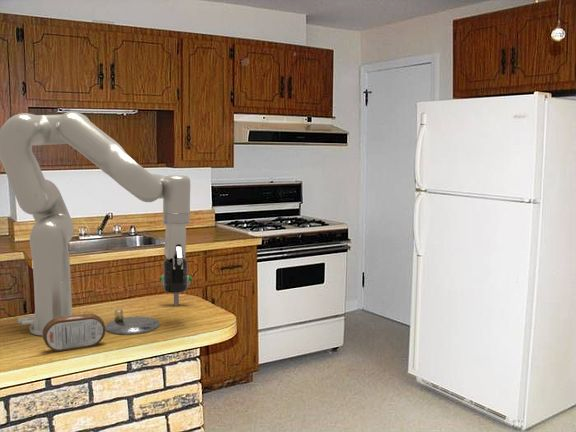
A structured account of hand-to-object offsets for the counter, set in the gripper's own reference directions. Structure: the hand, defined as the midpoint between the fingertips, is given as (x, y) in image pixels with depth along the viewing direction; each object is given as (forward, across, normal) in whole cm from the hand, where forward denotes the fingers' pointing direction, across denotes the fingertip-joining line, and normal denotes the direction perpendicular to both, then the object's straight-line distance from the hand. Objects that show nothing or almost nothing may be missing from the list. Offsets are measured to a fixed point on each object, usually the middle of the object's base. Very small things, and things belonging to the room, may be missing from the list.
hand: (175, 279), depth 167 cm
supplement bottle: (+3, 0, 0) cm, 3 cm away
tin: (+14, +13, -27) cm, 33 cm away
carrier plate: (+13, -1, -12) cm, 18 cm away
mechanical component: (+13, -19, +3) cm, 23 cm away
